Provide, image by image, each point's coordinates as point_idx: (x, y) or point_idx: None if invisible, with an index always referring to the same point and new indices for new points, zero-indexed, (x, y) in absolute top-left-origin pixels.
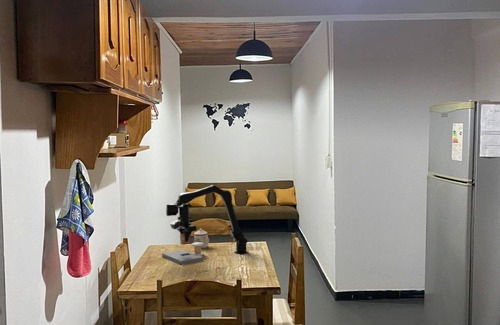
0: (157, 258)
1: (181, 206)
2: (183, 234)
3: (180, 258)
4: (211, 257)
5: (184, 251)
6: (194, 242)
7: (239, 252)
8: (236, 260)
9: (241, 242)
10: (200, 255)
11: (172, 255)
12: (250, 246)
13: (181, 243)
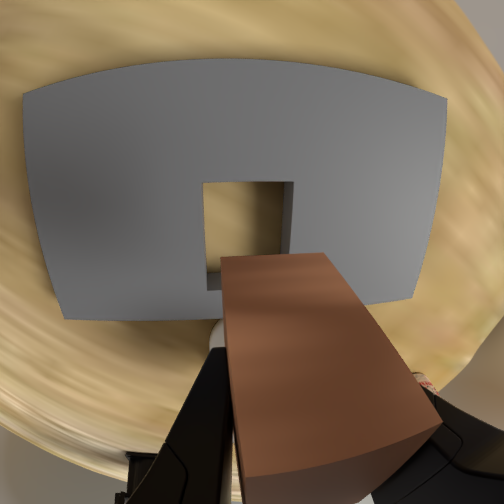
0: (405, 36)
1: None
2: (247, 489)
3: (118, 116)
4: (131, 372)
5: (360, 284)
6: (431, 390)
7: (139, 459)
8: (31, 400)
9: (118, 499)
10: (209, 346)
11: (315, 107)
12: (231, 488)
13: (286, 263)
